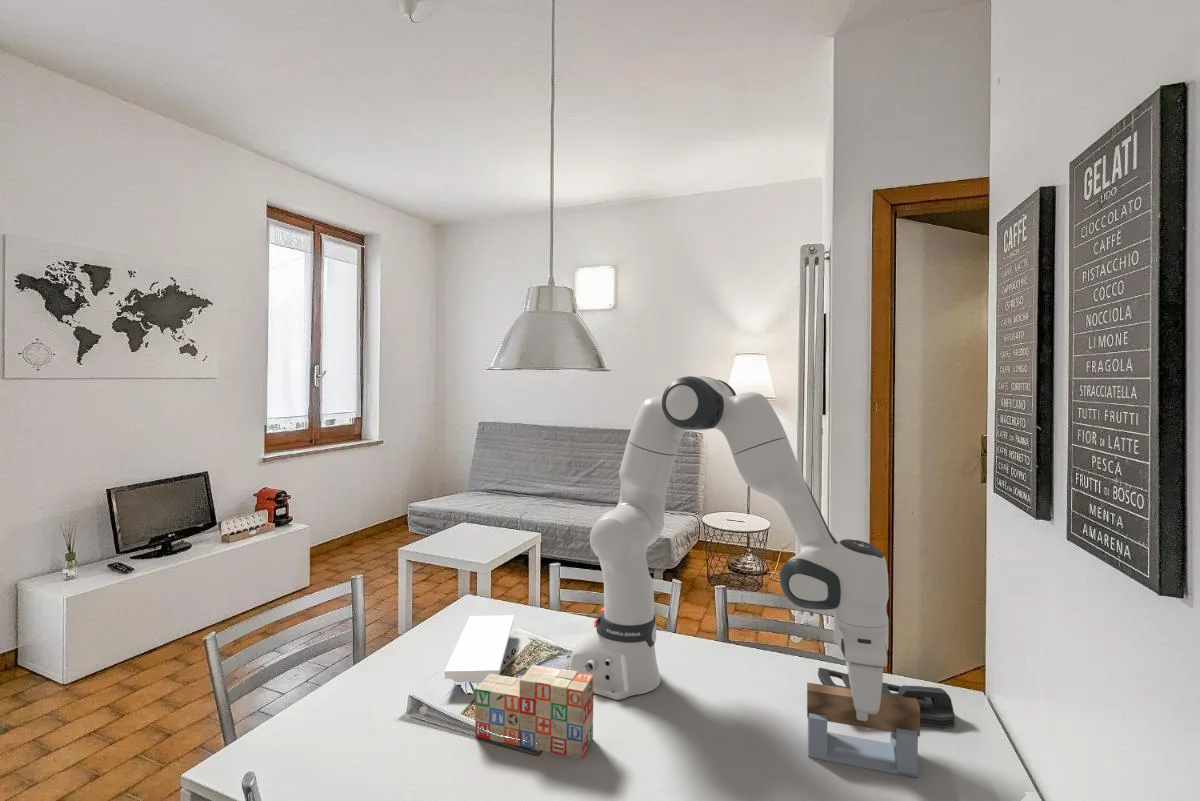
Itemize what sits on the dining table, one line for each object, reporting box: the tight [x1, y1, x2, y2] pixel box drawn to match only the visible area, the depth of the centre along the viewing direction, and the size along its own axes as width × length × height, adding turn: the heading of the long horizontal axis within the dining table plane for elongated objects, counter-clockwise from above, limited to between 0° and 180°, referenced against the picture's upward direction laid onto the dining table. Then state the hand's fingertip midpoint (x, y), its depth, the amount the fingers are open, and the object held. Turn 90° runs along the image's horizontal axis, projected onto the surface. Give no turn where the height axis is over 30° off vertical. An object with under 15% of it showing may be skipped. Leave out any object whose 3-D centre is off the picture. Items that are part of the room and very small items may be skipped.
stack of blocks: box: [474, 664, 595, 760], centre depth 107 cm, size 21×6×12 cm, turn 73°
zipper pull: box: [817, 667, 955, 730], centre depth 116 cm, size 9×7×25 cm
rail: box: [806, 681, 921, 738], centre depth 102 cm, size 18×3×5 cm, turn 71°
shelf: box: [444, 615, 515, 683], centre depth 137 cm, size 12×30×5 cm, turn 3°
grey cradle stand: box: [807, 713, 919, 779], centre depth 102 cm, size 17×8×7 cm, turn 71°
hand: (860, 711), depth 102 cm, fingers closed on rail, 3 cm apart
